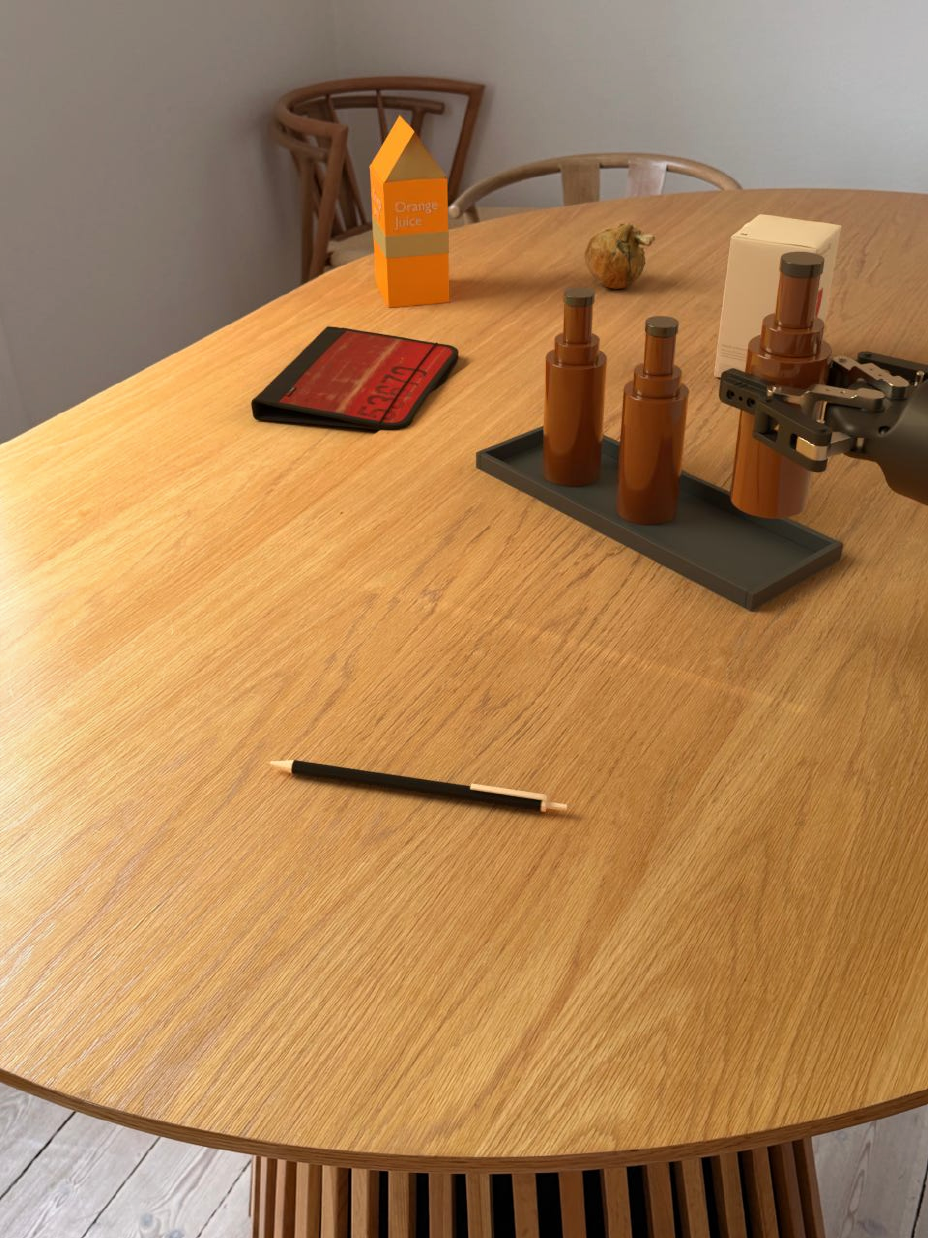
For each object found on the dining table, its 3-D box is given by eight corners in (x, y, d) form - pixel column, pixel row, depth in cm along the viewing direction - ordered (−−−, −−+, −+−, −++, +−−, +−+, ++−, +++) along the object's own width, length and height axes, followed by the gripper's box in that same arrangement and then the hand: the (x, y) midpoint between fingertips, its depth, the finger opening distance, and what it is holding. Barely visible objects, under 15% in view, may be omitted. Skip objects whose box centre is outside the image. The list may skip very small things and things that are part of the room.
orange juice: (387, 307, 146) (379, 132, 134) (374, 284, 153) (365, 115, 141) (451, 302, 147) (448, 127, 136) (435, 278, 154) (431, 111, 143)
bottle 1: (609, 467, 110) (621, 287, 100) (586, 492, 106) (595, 307, 96) (557, 455, 112) (563, 277, 102) (532, 479, 108) (536, 296, 98)
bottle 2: (685, 503, 104) (705, 316, 94) (664, 530, 100) (682, 338, 91) (629, 490, 106) (642, 305, 97) (605, 516, 102) (617, 326, 93)
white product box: (795, 395, 124) (818, 248, 115) (711, 378, 127) (727, 234, 119) (821, 364, 130) (844, 223, 122) (740, 349, 134) (757, 211, 125)
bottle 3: (816, 491, 83) (856, 251, 74) (795, 525, 80) (834, 277, 70) (743, 476, 86) (773, 240, 76) (719, 508, 82) (747, 264, 72)
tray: (839, 565, 96) (843, 542, 95) (750, 618, 90) (753, 594, 89) (564, 436, 116) (564, 416, 115) (475, 472, 110) (475, 452, 109)
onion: (632, 272, 156) (636, 208, 151) (653, 292, 149) (658, 227, 145) (575, 276, 154) (578, 212, 150) (594, 297, 148) (597, 231, 143)
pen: (565, 818, 73) (566, 804, 72) (266, 773, 77) (264, 759, 76) (568, 808, 74) (568, 794, 73) (271, 763, 77) (269, 750, 77)
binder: (249, 398, 118) (325, 323, 135) (251, 420, 120) (326, 343, 136) (406, 421, 115) (464, 341, 132) (406, 443, 117) (463, 362, 133)
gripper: (906, 559, 67) (674, 456, 78) (1038, 477, 75) (810, 393, 85) (934, 435, 63) (684, 344, 74) (1071, 362, 70) (826, 289, 81)
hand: (753, 371), depth 80 cm, fingers closed on bottle 3, 5 cm apart
